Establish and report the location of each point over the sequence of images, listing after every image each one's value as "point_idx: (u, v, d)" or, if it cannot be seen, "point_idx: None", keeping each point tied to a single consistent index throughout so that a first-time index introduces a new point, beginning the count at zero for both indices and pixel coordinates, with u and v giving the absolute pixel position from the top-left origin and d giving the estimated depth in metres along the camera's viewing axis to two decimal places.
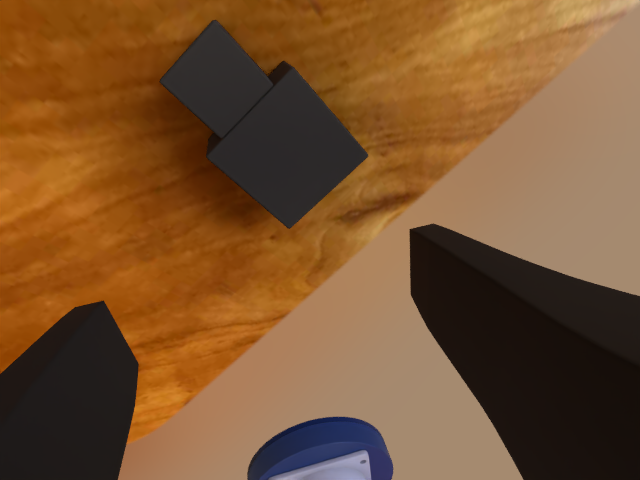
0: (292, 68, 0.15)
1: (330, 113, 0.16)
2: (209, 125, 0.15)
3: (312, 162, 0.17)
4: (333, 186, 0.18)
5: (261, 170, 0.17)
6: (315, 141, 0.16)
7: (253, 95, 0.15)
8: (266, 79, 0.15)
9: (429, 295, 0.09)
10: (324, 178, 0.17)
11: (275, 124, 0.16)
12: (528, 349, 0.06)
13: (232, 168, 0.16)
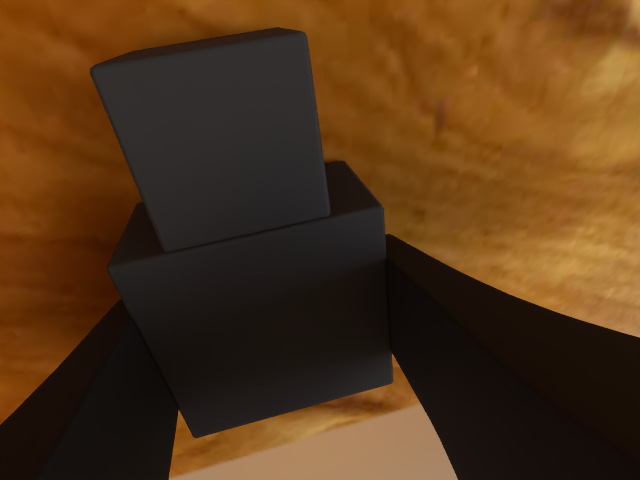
0: (380, 207, 0.07)
1: (386, 304, 0.08)
2: (154, 218, 0.06)
3: (306, 359, 0.09)
4: (312, 404, 0.09)
5: (208, 338, 0.08)
6: (333, 332, 0.08)
7: (283, 212, 0.07)
8: (325, 199, 0.07)
9: None
10: (307, 388, 0.09)
11: (287, 279, 0.07)
12: (460, 368, 0.06)
13: (151, 311, 0.07)
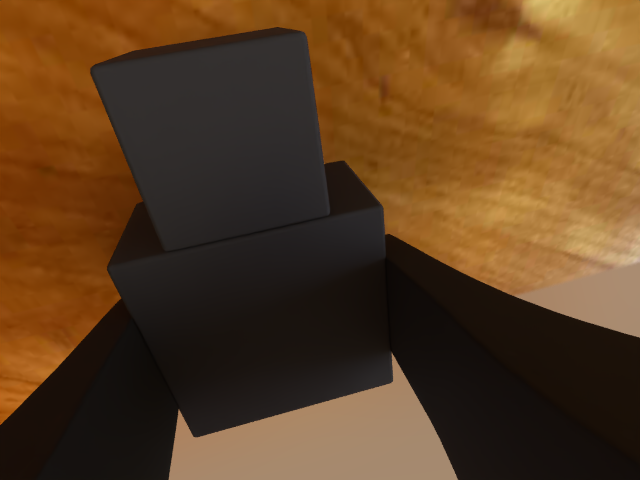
0: (380, 206, 0.07)
1: (386, 303, 0.08)
2: (154, 217, 0.06)
3: (306, 358, 0.09)
4: (312, 403, 0.09)
5: (208, 336, 0.08)
6: (333, 331, 0.08)
7: (282, 212, 0.07)
8: (325, 199, 0.07)
9: None
10: (307, 388, 0.09)
11: (287, 278, 0.07)
12: (460, 368, 0.06)
13: (151, 311, 0.07)
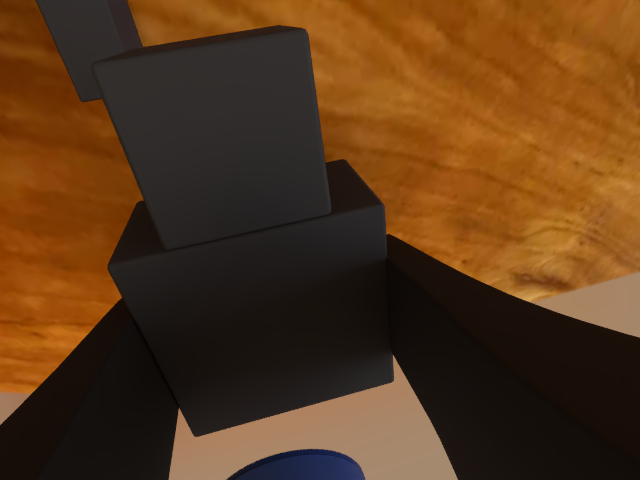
0: (381, 205, 0.07)
1: (387, 302, 0.08)
2: (155, 216, 0.06)
3: (306, 358, 0.09)
4: (313, 403, 0.09)
5: (209, 336, 0.08)
6: (334, 330, 0.08)
7: (283, 210, 0.07)
8: (326, 197, 0.07)
9: None
10: (308, 387, 0.09)
11: (289, 276, 0.07)
12: (460, 368, 0.06)
13: (152, 310, 0.07)
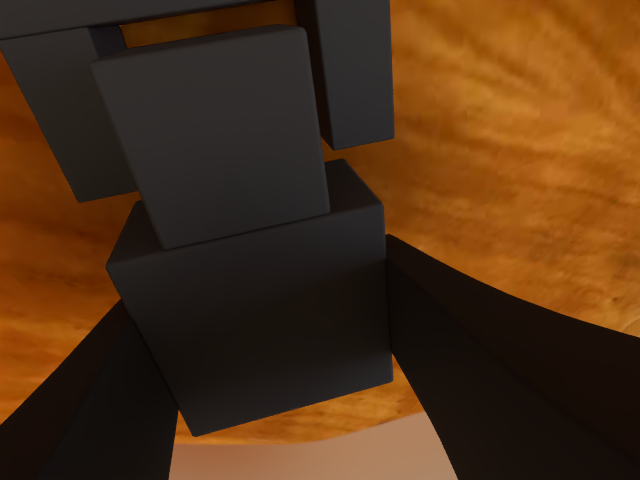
0: (380, 204, 0.07)
1: (386, 302, 0.08)
2: (153, 215, 0.06)
3: (305, 358, 0.09)
4: (312, 402, 0.09)
5: (207, 335, 0.08)
6: (333, 330, 0.08)
7: (282, 210, 0.07)
8: (325, 197, 0.07)
9: None
10: (307, 387, 0.09)
11: (287, 276, 0.07)
12: (460, 368, 0.06)
13: (150, 309, 0.07)
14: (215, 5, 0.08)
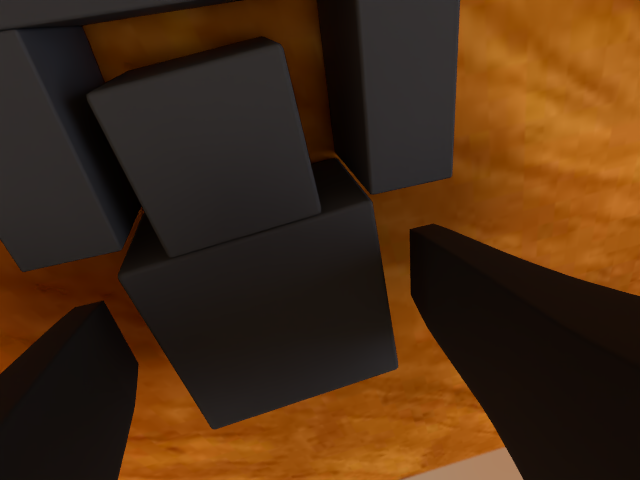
0: (369, 201, 0.08)
1: (384, 293, 0.09)
2: (156, 227, 0.07)
3: (311, 350, 0.09)
4: (322, 392, 0.10)
5: (216, 334, 0.08)
6: (335, 323, 0.09)
7: (276, 213, 0.07)
8: (315, 198, 0.07)
9: (429, 295, 0.09)
10: (315, 378, 0.10)
11: (286, 275, 0.08)
12: (528, 349, 0.06)
13: (162, 313, 0.08)
14: None
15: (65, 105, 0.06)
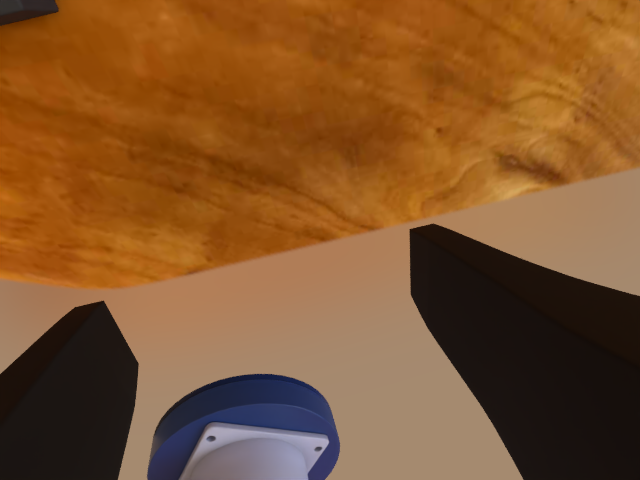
0: None
1: None
2: None
3: None
4: None
5: None
6: None
7: None
8: None
9: (429, 295, 0.09)
10: None
11: None
12: (528, 349, 0.06)
13: None
14: None
15: None
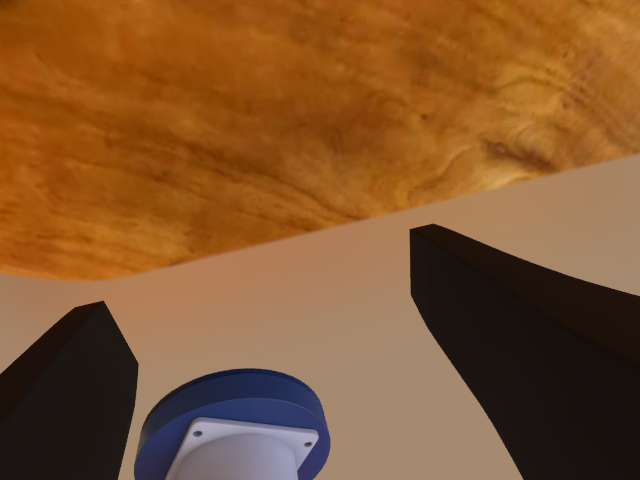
0: None
1: None
2: None
3: None
4: None
5: None
6: None
7: None
8: None
9: (429, 295, 0.09)
10: None
11: None
12: (528, 349, 0.06)
13: None
14: None
15: None
